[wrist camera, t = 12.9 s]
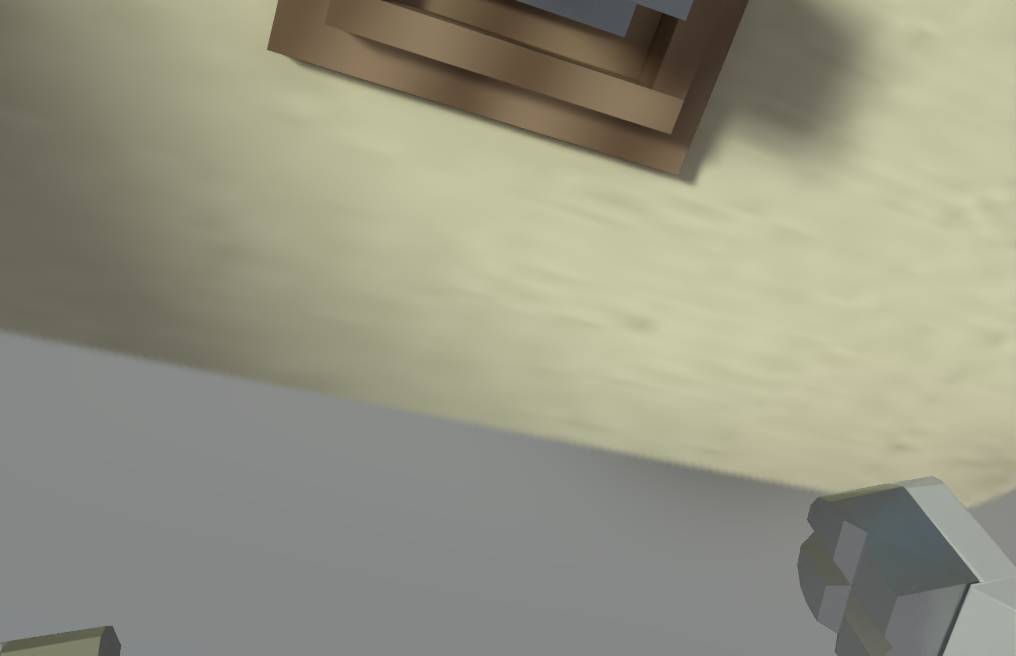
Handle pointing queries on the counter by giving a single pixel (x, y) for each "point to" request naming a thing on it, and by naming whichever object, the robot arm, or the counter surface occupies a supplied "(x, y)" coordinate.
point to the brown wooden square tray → (530, 65)
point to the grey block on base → (610, 11)
